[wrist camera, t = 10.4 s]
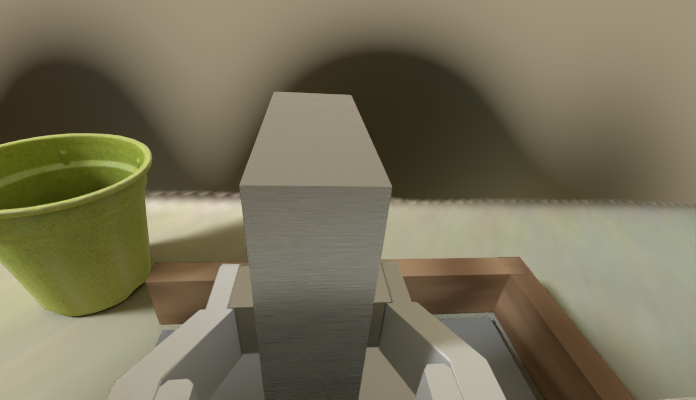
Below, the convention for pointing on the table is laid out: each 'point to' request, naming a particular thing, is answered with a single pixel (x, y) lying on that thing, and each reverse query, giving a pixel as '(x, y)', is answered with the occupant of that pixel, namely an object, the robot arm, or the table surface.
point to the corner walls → (451, 297)
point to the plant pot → (75, 219)
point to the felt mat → (480, 333)
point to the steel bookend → (317, 250)
